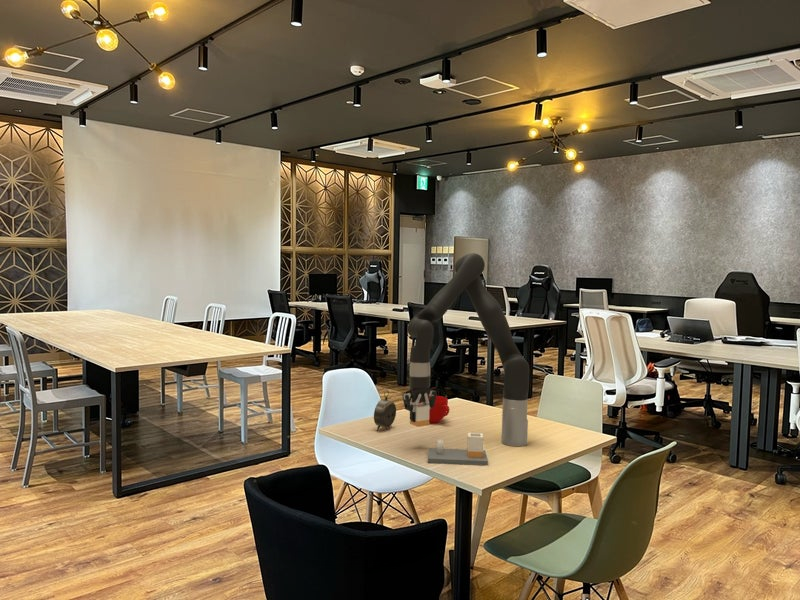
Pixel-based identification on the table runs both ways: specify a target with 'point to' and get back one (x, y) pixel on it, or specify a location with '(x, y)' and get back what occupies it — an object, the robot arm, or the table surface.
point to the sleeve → (421, 415)
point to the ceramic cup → (438, 409)
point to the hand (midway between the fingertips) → (419, 420)
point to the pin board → (460, 452)
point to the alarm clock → (384, 413)
